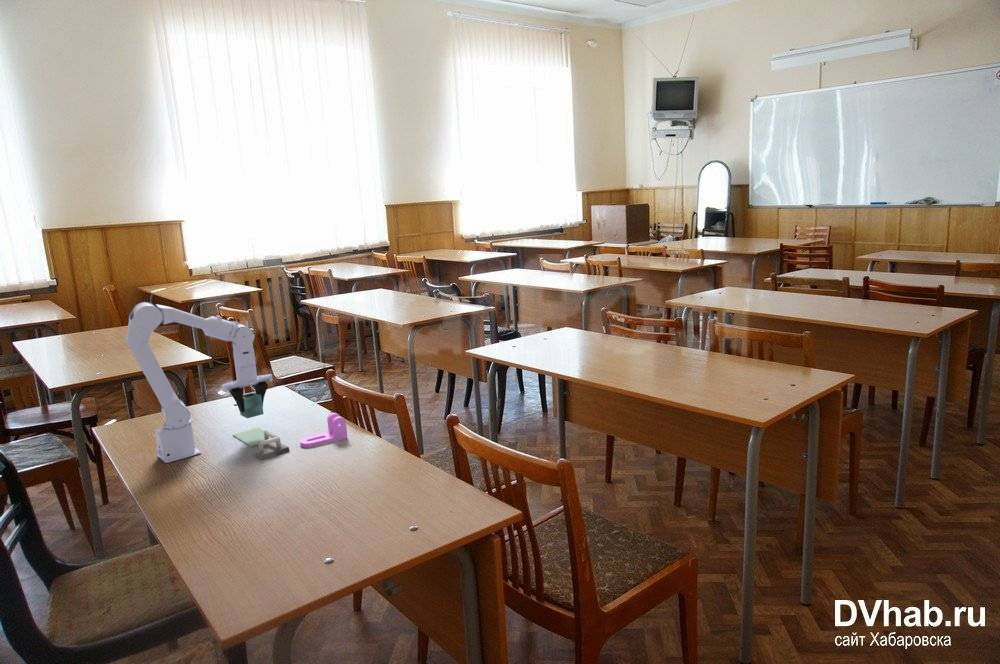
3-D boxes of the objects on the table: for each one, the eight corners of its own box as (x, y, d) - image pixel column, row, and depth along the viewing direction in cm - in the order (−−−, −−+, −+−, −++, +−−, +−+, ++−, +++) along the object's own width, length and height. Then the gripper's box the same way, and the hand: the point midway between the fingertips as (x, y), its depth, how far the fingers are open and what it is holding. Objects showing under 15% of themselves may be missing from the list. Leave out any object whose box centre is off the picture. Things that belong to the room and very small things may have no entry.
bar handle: (261, 459, 183) (259, 444, 183) (245, 449, 192) (243, 434, 191) (289, 451, 189) (287, 436, 188) (271, 441, 197) (270, 427, 196)
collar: (247, 418, 196) (244, 398, 195) (240, 414, 200) (237, 395, 199) (263, 414, 200) (261, 394, 198) (256, 410, 203) (254, 391, 202)
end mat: (251, 446, 194) (251, 445, 193) (232, 435, 204) (232, 434, 204) (277, 439, 199) (277, 437, 199) (258, 428, 209) (258, 427, 209)
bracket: (341, 433, 201) (338, 411, 200) (347, 438, 196) (345, 416, 195) (298, 444, 194) (295, 421, 193) (303, 449, 190) (301, 426, 188)
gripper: (225, 372, 189) (232, 418, 192) (274, 362, 198) (280, 406, 201) (216, 368, 194) (223, 413, 197) (264, 358, 204) (270, 401, 206)
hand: (251, 409), depth 199 cm, fingers closed on collar, 5 cm apart
